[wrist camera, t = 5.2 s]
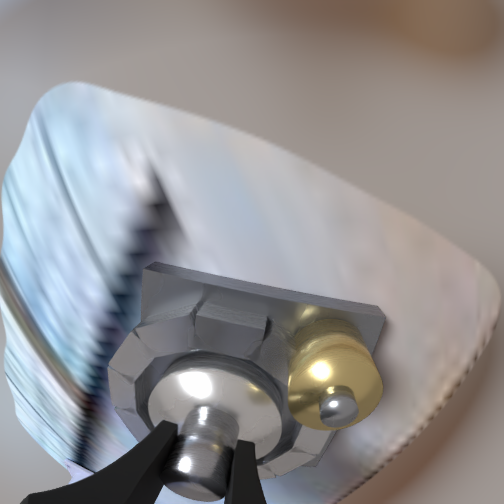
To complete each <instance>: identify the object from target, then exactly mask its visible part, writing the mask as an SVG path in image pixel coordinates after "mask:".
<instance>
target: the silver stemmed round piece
mask: <svg viewBox="0 0 504 504" xmlns="http://www.w3.org/2000/svg"><path fill="white" fill-rule="evenodd" d="M282 408H283V404H282V399H281V396H280V393H279V391H278V389H277V388H276V386H275V385H274V383H273V382H272V381H271V380H270V379H269V378H268V377H267V376H266V375H265V374H264V373H263V372H261V371H260V370H259V369H257V368H255V367H254V366H252V365H250V364H248V363H246V362H244V361H241V360H239V359H236V358H233V357H229V356H224V355H218V354H197V355H191V356H188V357H184V358H182V359H180V360H178V361H176V362H174V363H173V364H172V365H170V366H169V367H168V368H167V369H166V371H165V372H164V374H163V375H162V377H161V378H160V380H159V381H158V383H157V385H156V386H155V388H154V389H153V391H152V392H151V395H150V397H149V401H148V411H149V415H150V418H151V421H152V423H153V425H154V426H155V427H156V426H157V425H158V424H159V423H160V422H161V421H162V420H166V421H169V422H172V423H176V424H178V436H177V439H176V441H175V443H174V445H173V448H172V450H171V452H170V455H169V457H168V459H167V461H166V464H165V466H164V468H163V470H162V473H161V475H160V478H161V481H162V482H163V484H164V485H165V486H166V487H167V488H169V489H170V490H171V491H173V492H175V493H176V494H178V495H181V496H183V497H186V498H189V499H192V500H197V501H205V502H211V501H218V500H220V499H222V498H224V497H225V495H226V491H227V486H228V482H229V477H230V472H231V466H232V461H233V457H234V452H235V448H236V444H237V440H238V439H240V440H245V441H250V442H254V443H255V454H256V459H259V458H261V457H263V456H265V455H266V454H268V453H269V452H270V451H271V450H273V449H274V448H275V446H276V445H277V443H278V442H279V439H280V437H281V432H282Z"/></svg>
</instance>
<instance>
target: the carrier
mask: <svg viewBox="0 0 504 504" xmlns="http://www.w3.org/2000/svg"><path fill="white" fill-rule="evenodd" d="M385 319H386V317H385V315H384V314H383V313H382V311H381V310H380V308H379V307H378V306H374V305H368V304H362V303H356V302H351V301H345V300H340V299H334V298H328V297H323V296H318V295H312V294H307V293H302V292H296V291H291V290H286V289H281V288H276V287H271V286H266V285H261V284H256V283H251V282H246V281H241V280H236V279H232V278H227V277H222V276H217V275H213V274H208V273H203V272H199V271H194V270H190V269H185V268H181V267H176V266H172V265H167V264H163V263H159V262H154V263H152V264H150V265H149V266H147V267H145V268H144V269H143V280H142V300H141V322H140V323H139V324H138V325H137V326H136V327H135V328H134V329H133V330H132V331H131V332H130V334H129V335H128V336H127V338H126V339H125V341H124V342H123V344H122V345H121V346H120V348H119V349H118V351H117V352H116V353H115V355H114V356H113V358H112V359H111V361H110V362H109V365H110V366H109V367H108V377H109V386H110V393H111V400H112V405H113V406H116V407H115V408H114V410H115V411H116V413H117V414H118V415H119V417H120V418H121V420H122V421H123V422H124V424H125V425H126V427H127V428H128V429H129V431H130V432H131V433H132V434H133V436H134V437H135V438H136V440H137V441H138V442H140V441H142V440H143V439H144V438H145V437H146V436H147V435H148V434H149V433H150V432H151V431H152V430H153V429H154V428H155V426H154V425H153V423H152V421H151V418H150V415H149V411H148V401H149V397H150V395H151V392H152V391H153V389H154V388H155V386H156V385H157V383H158V381H159V380H160V378H161V377H162V375H163V374H164V372H165V371H166V369H167V368H168V367H169V366H170V365H172V364H173V363H174V362H176V361H178V360H180V359H182V358H184V357H188V356H191V355H197V354H218V355H224V356H229V357H233V358H236V359H239V360H241V361H244V362H246V363H248V364H250V365H252V366H254V367H255V368H257V369H259V370H260V371H261V372H263V373H264V374H265V375H266V376H267V377H268V378H269V379H270V380H271V381H272V382H273V383H274V385H275V386H276V388H277V389H278V391H279V393H280V396H281V399H282V404H283V408H282V432H281V437H280V439H279V442H278V443H277V445H276V446H275V448H274V449H273V450H271V451H270V452H269V453H268V454H266V455H265V456H263V457H261V458H259V459H256V463H257V469H258V474H259V479H269V478H276V475H278V476H282V475H284V474H286V473H288V472H290V471H292V470H293V469H295V468H297V467H299V466H312V467H316V466H317V464H318V462H319V461H320V459H321V457H322V456H323V454H324V452H325V450H326V449H327V447H328V445H329V443H330V442H331V440H332V438H333V436H334V434H335V432H336V431H337V430H339V429H343V428H347V427H350V426H352V425H354V424H356V423H358V422H360V421H362V420H363V419H365V418H366V417H367V416H368V415H370V414H371V413H372V412H373V410H374V409H375V408H376V407H377V405H378V403H379V402H380V399H381V397H382V393H383V383H382V379H381V377H380V375H379V372H378V370H377V368H376V366H375V363H374V361H373V359H372V357H371V356H372V353H373V351H374V348H375V346H376V343H377V340H378V338H379V335H380V332H381V330H382V327H383V324H384V321H385Z"/></svg>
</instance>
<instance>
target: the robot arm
mask: <svg viewBox="0 0 504 504" xmlns="http://www.w3.org/2000/svg"><path fill="white" fill-rule="evenodd" d="M177 436H178V424H176V423H172V422H169V421H166V420H162V421H161V422H160V423H159V424H158V425H157V426H156V427H155V428H154V429H153V430H152V431H151V432H150V433H149V434H148V435H147V436H146V437H145V438H144V439H143V440H142V441H140V442H139V443H138V444H137V445H136V446H135V447H133V448H132V449H131V450H130V451H128V452H127V453H126V454H124V455H123V456H122V457H120V458H119V459H117V460H116V461H115V462H113V463H112V464H110V465H108V466H107V467H105V468H103V469H102V470H100V471H98V472H96V473H93V472H91V471H89V470H87V469H85V468H83V467H81V466H79V465H77V464H76V463H74V462H72V461H70V460H68V459H65V460H64V463H65V465H66V467H67V469H68V471H69V473H70V475H71V476H72V479H71V481H70V482H69V483H68V485H66V486H62V487H59V488H56V489H52V490H48V491H44V492H38V493H32V494H29V495H28V496H27V497H26V498H25V499H24V500H23V501H22V502H21V503H20V504H154V503H155V501H156V499H157V497H158V495H159V493H160V491H161V489H162V487H163V485H164V484H163V482H162V481H161V478H160V475H161V473H162V470H163V468H164V466H165V464H166V461H167V459H168V457H169V455H170V452H171V450H172V448H173V445H174V443H175V441H176V439H177ZM224 504H267V503H266V500H265V497H264V494H263V490H262V487H261V483H260V479H259V474H258V469H257V463H256V454H255V443H254V442H250V441H245V440H240V439H238V440H237V444H236V448H235V452H234V457H233V461H232V466H231V472H230V477H229V482H228V486H227V491H226V495H225V501H224Z"/></svg>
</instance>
